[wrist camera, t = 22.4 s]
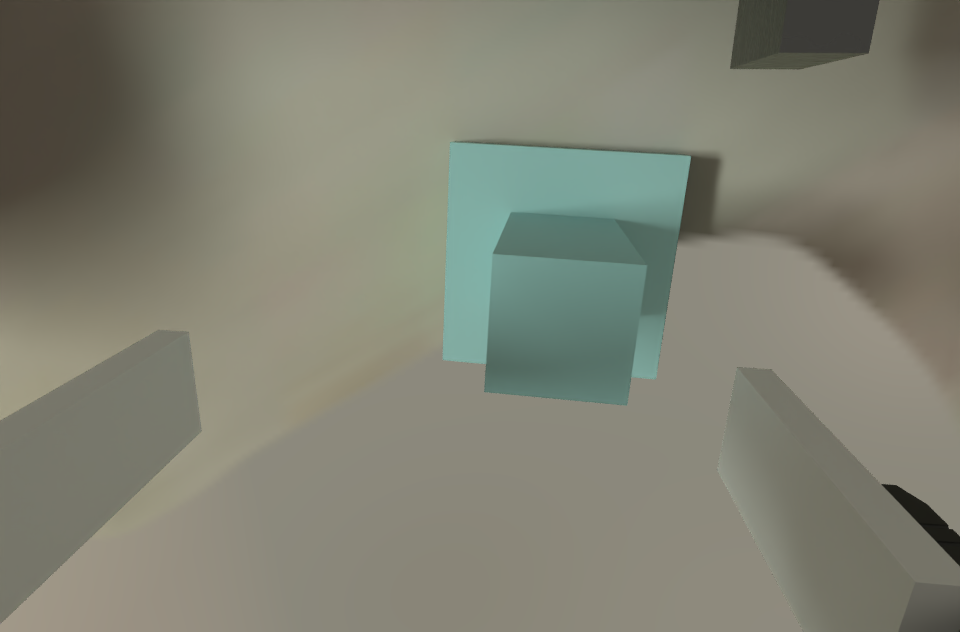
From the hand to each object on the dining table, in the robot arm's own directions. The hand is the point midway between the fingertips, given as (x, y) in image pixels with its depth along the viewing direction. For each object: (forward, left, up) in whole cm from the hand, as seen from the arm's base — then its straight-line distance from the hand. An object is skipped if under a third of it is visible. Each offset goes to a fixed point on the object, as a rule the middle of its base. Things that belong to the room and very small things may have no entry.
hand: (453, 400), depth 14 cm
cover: (+3, +1, -12) cm, 12 cm away
